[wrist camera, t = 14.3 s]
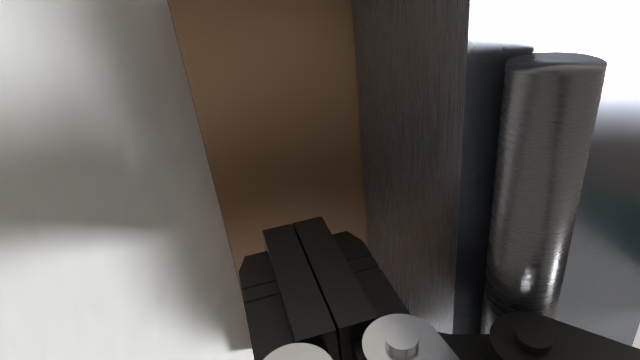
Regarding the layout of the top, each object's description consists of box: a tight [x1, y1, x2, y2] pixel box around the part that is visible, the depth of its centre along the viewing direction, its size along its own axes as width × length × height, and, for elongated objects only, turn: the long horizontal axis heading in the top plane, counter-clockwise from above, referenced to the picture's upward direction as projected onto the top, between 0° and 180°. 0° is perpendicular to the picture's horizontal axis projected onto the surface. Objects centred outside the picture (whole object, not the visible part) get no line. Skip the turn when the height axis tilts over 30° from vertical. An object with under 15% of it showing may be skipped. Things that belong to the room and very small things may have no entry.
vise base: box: [167, 0, 368, 296], centre depth 12 cm, size 12×17×6 cm
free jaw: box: [352, 0, 640, 346], centre depth 11 cm, size 12×5×6 cm, turn 6°
